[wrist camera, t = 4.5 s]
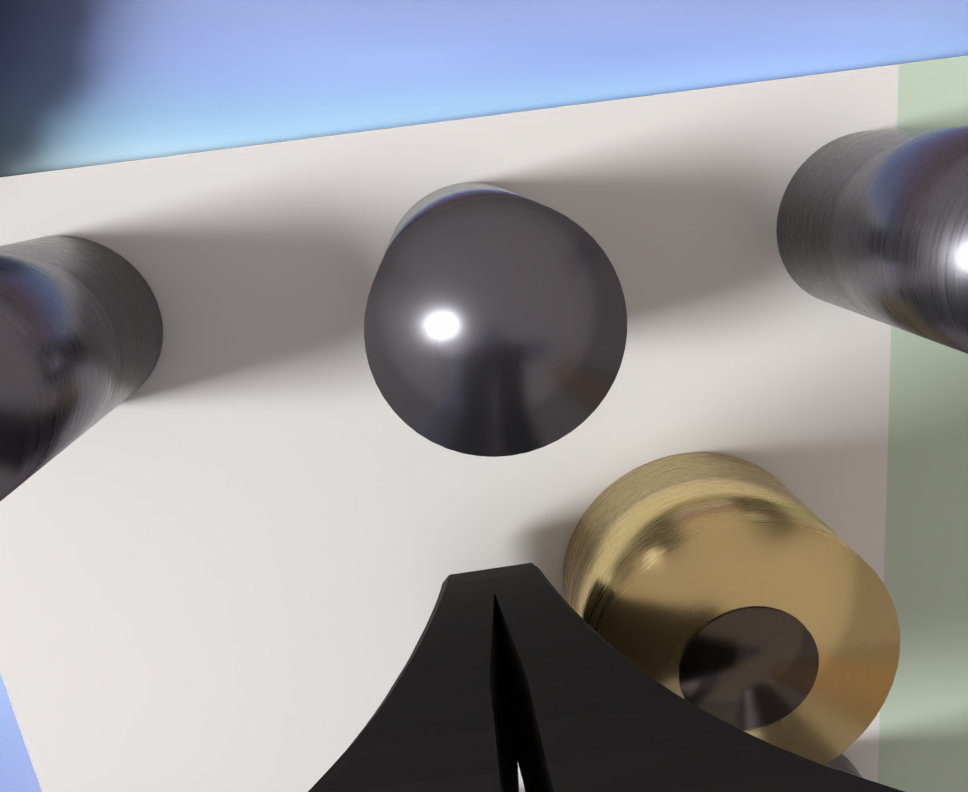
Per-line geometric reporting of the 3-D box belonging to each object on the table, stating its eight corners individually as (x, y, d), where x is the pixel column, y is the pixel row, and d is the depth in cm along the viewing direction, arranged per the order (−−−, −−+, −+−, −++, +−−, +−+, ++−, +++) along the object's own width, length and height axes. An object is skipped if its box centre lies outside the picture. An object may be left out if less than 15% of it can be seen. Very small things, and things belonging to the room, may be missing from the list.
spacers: (913, 834, 15) (1086, 1075, 11) (118, 959, 14) (5, 1257, 10) (947, 120, 11) (1225, 101, 7) (-122, 257, 11) (-434, 316, 7)
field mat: (1159, 800, 16) (1187, 825, 15) (125, 963, 15) (113, 995, 14) (1283, 17, 11) (1328, 9, 11) (-136, 195, 11) (-167, 198, 10)
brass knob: (808, 664, 13) (893, 779, 11) (569, 692, 13) (601, 814, 11) (816, 438, 12) (913, 511, 10) (555, 466, 12) (587, 547, 10)
